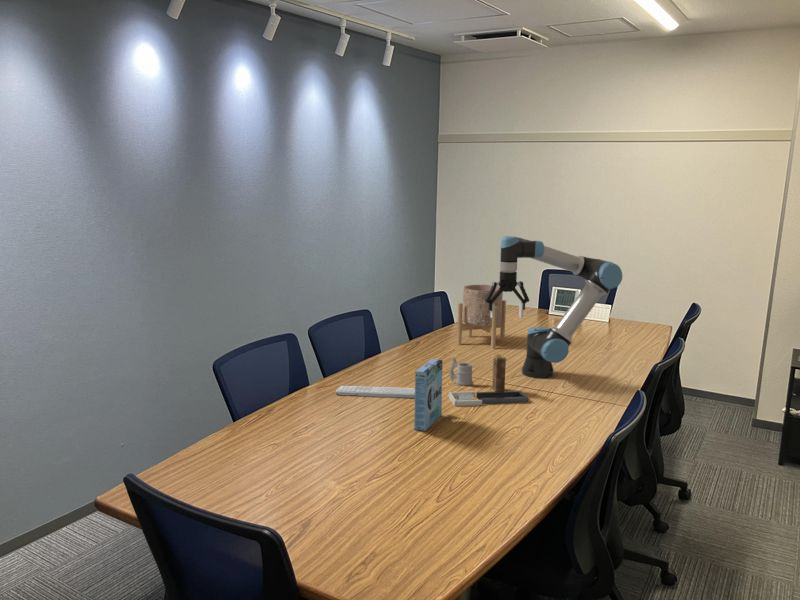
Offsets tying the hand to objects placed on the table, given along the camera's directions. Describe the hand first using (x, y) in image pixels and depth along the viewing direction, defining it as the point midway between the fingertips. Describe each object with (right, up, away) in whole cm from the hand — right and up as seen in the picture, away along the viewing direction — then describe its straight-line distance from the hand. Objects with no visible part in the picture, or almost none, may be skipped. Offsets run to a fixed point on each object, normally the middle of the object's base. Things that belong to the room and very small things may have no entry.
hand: (506, 317), depth 303 cm
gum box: (-37, -40, -43) cm, 70 cm away
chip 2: (-20, -35, -21) cm, 45 cm away
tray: (-21, -36, -21) cm, 46 cm away
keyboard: (-54, -34, -9) cm, 64 cm away
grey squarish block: (-23, -35, -21) cm, 47 cm away
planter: (-2, -17, +83) cm, 84 cm away
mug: (-21, -31, +4) cm, 38 cm away
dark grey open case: (-5, -35, -18) cm, 40 cm away
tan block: (-5, -33, -6) cm, 34 cm away
